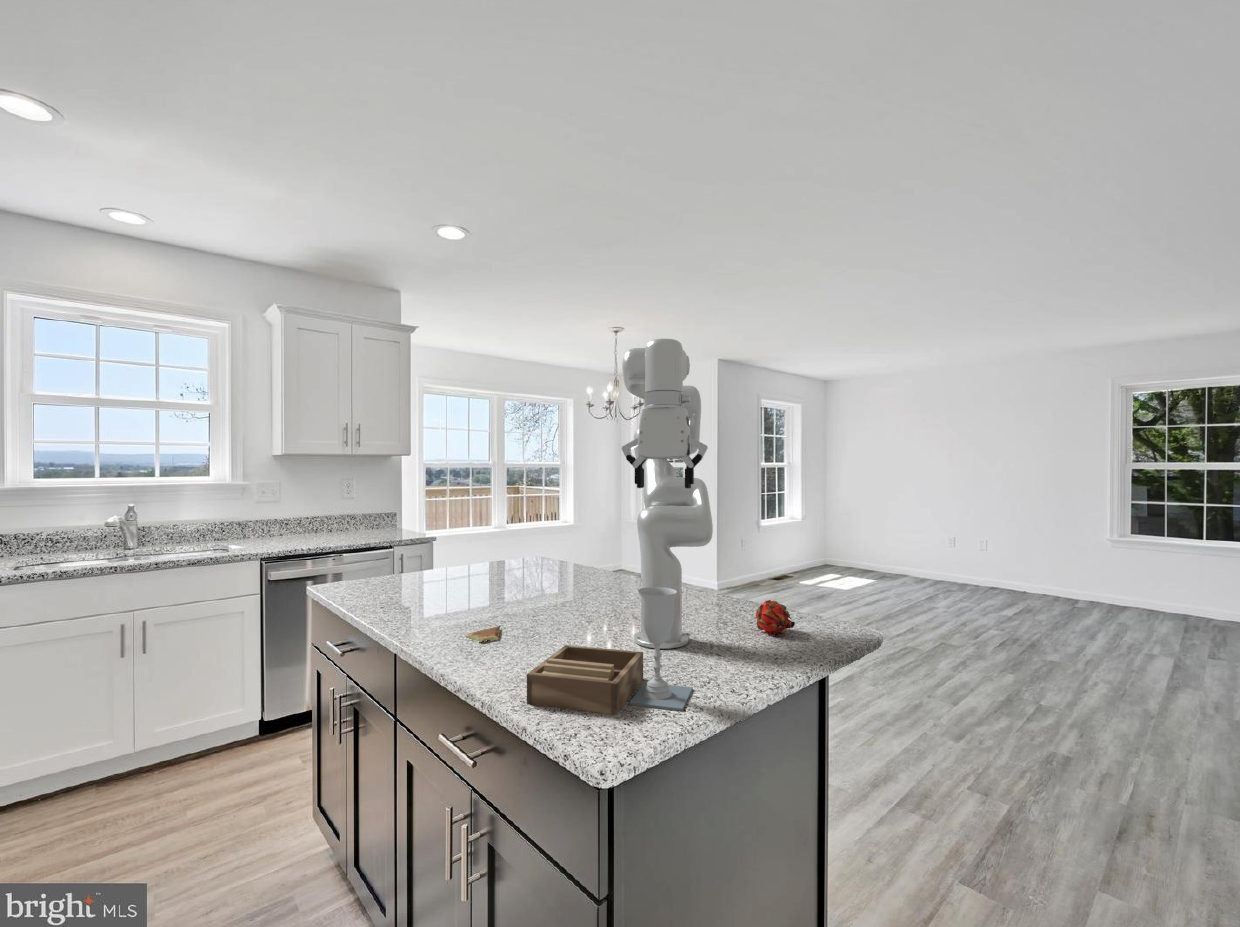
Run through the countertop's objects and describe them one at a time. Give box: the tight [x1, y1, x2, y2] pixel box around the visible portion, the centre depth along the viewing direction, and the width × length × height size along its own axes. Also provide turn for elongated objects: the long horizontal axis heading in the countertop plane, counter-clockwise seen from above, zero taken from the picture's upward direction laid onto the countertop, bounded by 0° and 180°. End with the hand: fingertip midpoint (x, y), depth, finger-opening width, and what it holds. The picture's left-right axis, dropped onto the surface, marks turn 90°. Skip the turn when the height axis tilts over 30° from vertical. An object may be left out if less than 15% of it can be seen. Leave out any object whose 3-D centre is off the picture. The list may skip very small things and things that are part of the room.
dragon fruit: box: [755, 599, 796, 637], centre depth 143 cm, size 8×8×12 cm
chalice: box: [637, 587, 677, 699], centre depth 102 cm, size 7×7×18 cm
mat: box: [629, 681, 694, 712], centre depth 102 cm, size 10×9×1 cm
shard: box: [464, 625, 501, 643], centre depth 140 cm, size 11×8×2 cm
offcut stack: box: [542, 657, 614, 681], centre depth 100 cm, size 4×12×6 cm, turn 73°
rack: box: [526, 644, 644, 716], centre depth 105 cm, size 18×16×5 cm
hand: (663, 488), depth 116 cm, fingers open, 9 cm apart
